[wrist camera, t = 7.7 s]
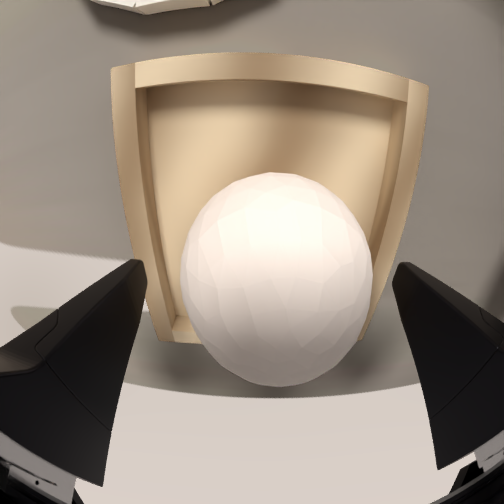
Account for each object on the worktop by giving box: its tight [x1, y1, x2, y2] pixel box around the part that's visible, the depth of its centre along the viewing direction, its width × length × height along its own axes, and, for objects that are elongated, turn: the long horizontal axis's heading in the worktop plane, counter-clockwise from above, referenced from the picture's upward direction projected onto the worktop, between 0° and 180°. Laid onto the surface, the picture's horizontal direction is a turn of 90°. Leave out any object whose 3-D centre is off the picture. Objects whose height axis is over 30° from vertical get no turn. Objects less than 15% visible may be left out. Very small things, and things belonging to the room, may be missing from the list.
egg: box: [180, 172, 373, 387], centre depth 9 cm, size 6×6×8 cm
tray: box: [111, 53, 429, 344], centre depth 12 cm, size 12×14×2 cm
